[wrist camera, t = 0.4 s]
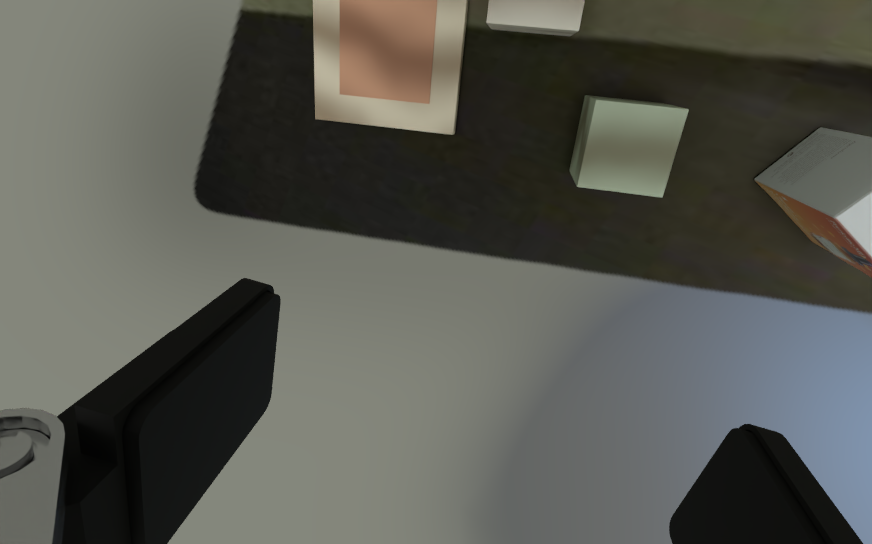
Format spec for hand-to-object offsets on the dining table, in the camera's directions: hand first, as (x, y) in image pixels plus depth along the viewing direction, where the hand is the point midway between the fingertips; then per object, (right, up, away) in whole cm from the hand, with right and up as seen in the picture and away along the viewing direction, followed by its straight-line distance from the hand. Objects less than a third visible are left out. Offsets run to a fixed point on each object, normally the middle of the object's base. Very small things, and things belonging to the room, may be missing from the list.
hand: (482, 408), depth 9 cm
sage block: (+14, +14, +28) cm, 34 cm away
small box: (+29, +10, +27) cm, 41 cm away
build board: (-5, +21, +28) cm, 35 cm away
